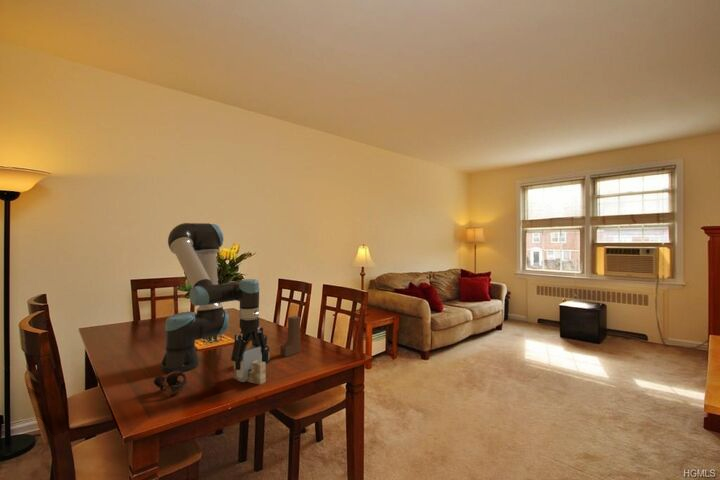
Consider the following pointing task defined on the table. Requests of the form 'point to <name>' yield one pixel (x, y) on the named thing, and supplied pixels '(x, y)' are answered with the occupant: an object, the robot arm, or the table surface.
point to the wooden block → (292, 337)
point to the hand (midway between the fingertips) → (249, 372)
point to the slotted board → (255, 372)
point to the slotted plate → (249, 360)
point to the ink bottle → (266, 353)
